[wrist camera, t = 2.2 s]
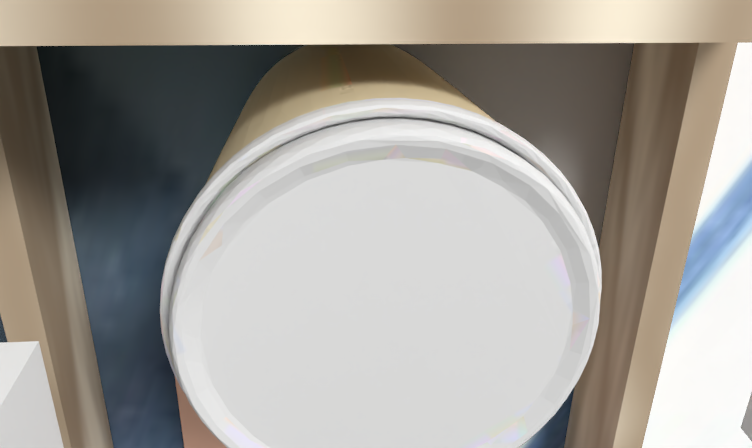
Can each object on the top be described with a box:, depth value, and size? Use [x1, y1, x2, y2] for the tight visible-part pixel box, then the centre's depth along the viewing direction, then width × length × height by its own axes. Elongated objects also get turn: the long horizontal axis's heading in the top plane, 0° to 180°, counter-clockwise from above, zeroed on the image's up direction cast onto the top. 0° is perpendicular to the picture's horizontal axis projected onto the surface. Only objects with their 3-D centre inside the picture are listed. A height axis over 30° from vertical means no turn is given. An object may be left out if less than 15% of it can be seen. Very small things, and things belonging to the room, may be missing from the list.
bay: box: [0, 0, 752, 448], centre depth 23 cm, size 22×24×10 cm
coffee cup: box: [160, 44, 602, 448], centre depth 19 cm, size 9×9×12 cm
